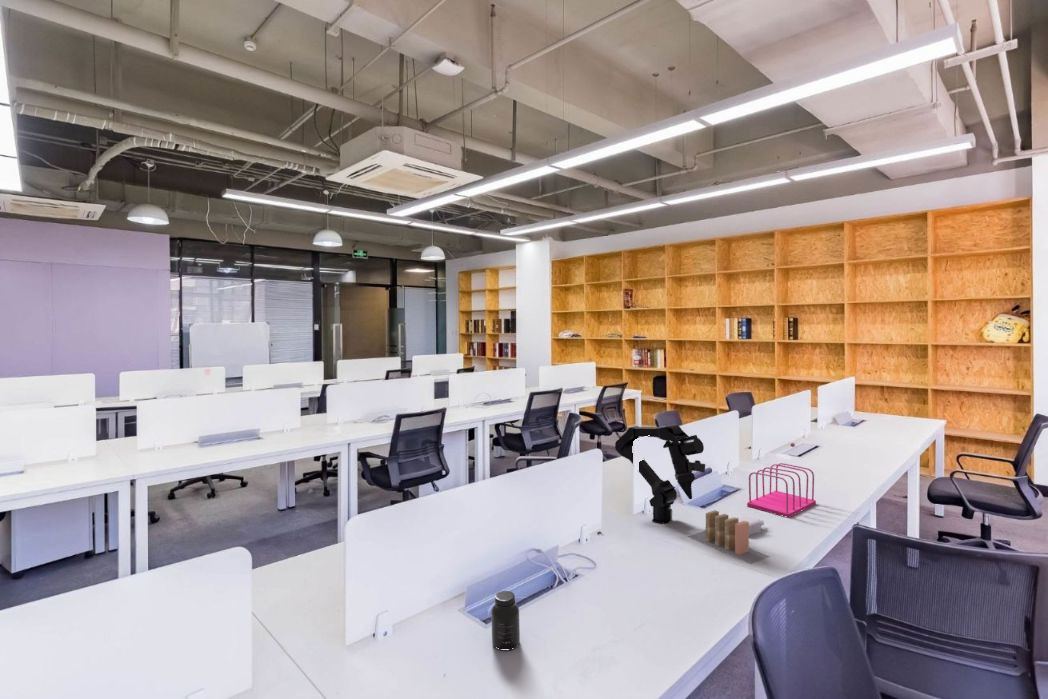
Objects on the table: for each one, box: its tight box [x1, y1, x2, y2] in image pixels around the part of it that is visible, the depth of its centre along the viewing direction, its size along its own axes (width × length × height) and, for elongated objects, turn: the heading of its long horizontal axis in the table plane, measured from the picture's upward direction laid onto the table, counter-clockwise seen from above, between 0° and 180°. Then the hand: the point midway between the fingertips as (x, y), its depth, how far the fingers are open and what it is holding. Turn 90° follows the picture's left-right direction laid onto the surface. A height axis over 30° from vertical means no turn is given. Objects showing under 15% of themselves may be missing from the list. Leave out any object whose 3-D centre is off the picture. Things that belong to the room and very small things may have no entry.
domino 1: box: [705, 510, 720, 542], centre depth 185 cm, size 2×5×10 cm, turn 121°
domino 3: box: [725, 516, 738, 550], centre depth 178 cm, size 2×5×10 cm, turn 121°
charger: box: [728, 514, 765, 536], centre depth 195 cm, size 5×9×15 cm
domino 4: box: [735, 521, 750, 555], centre depth 175 cm, size 2×5×10 cm, turn 121°
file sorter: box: [746, 462, 817, 518], centre depth 221 cm, size 17×25×16 cm
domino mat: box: [686, 530, 771, 565], centre depth 180 cm, size 26×10×1 cm, turn 31°
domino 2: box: [715, 513, 729, 546], centre depth 182 cm, size 2×5×10 cm, turn 121°
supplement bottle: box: [490, 590, 521, 650], centre depth 127 cm, size 7×7×12 cm
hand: (690, 499), depth 195 cm, fingers closed
